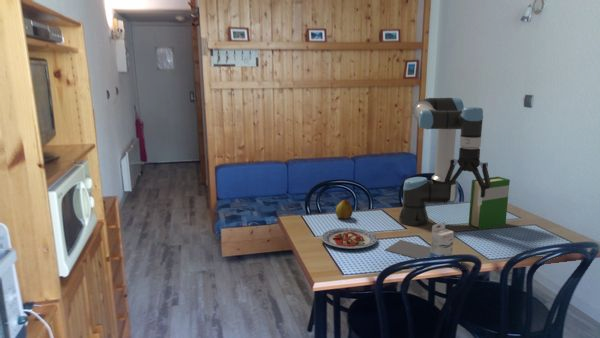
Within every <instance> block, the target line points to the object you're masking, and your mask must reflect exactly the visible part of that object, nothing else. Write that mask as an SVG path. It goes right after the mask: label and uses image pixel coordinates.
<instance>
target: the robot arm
mask: <svg viewBox="0 0 600 338" xmlns="http://www.w3.org/2000/svg"><path fill="white" fill-rule="evenodd" d="M411 111H412V116H413V117H414V119H415V120H416V121H418V128H419V129H421V130H437V139H436V151H435V152H436V153H435V165H434V166H435V167H434V168H435V169H434V174H433V175H432V176H431V180H429V179H428V178H427V177H424V176H414V177H409V178H407V179H405V181H404V183H403V188H402V189H403V190H402V191H403V197H402V208H401V211H400V213H399V216H398V221H399V223H402V224H404V225H407V226H412V227H413V226H414V227H418V226H419V227H420V226H422V227H423V226H425V225H428V224H429V221H430V219H429V215H428V212H427V206H426V205H427V204H444V205H446V204H454V203H455V201H456V200H457V197H458V193H459V182H458V181H457V179H458V178H459V177H460V175H461V174H462V172H463V171H464V172H470V173H472V174H473V175H474V177H475V179H477V181H478V183H479V185H480V187H481V189H479V194H478V206H480V205H482V198H484V197H485V191H486V189H489V188H490V187H491V183H490V178H491V177H490V175H489V170H488V166H489V164H488V162H481V161H480V159H481V158H480V157H481V149H480V148H481V146H482V145H481V144H482V131H483V119H484V109H483V108H482V107H477V106H467V107H466V106H464V103H463V99H461V98H459V97H429V98H428V97H426V98H423V99H421V100H418V101H417V102H416V103H415V104H414V105H413V107H412V110H411ZM457 130H460V136H459V149H458V150H459V151H458V152H459V153H458V159H455V148H456V147H455V146H456V137H457ZM456 165H459V167H458V169H457V171H456V172H455V173H454V171H455V167H456ZM479 166H480V168H481V170H482V172H481V173H482V175H483V177H482V175H481V173H480V171H479V168H478V167H479ZM453 173H454V175H453ZM483 178H484V181H485V183H484V181H483Z"/></svg>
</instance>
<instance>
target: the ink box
mask: <svg viewBox="0 0 600 338" xmlns="http://www.w3.org/2000/svg"><path fill="white" fill-rule="evenodd" d="M454 233H455V232H454V231H453V230H450V229H447V228H446V222H445V221H444V222H439V223H436V224H432V228H431V236H430V237H431V238H430V247H431V251H430V257H435V256H445V255H452V256H453V248H454V247H453V245H454Z"/></svg>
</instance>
